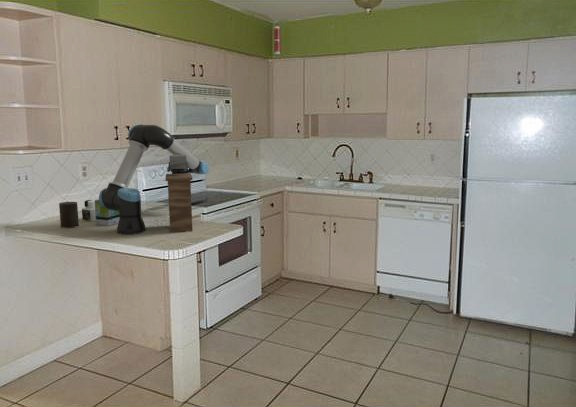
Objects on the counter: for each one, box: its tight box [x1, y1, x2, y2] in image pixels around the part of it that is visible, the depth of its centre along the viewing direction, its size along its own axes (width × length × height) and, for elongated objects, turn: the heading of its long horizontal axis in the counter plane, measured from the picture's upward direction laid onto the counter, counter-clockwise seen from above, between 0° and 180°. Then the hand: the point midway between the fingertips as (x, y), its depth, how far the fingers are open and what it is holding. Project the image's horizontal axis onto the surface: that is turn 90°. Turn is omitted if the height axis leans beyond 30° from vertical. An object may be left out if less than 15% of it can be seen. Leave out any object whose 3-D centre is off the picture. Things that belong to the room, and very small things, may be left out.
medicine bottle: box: [81, 199, 96, 222], centre depth 302 cm, size 7×7×12 cm
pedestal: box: [165, 173, 193, 233], centre depth 277 cm, size 19×14×30 cm
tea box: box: [94, 199, 119, 227], centre depth 293 cm, size 15×10×15 cm, turn 159°
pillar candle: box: [58, 201, 80, 229], centre depth 286 cm, size 10×10×15 cm
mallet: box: [169, 154, 187, 169], centre depth 285 cm, size 25×9×7 cm, turn 13°
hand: (177, 158), depth 288 cm, fingers closed on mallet, 3 cm apart
